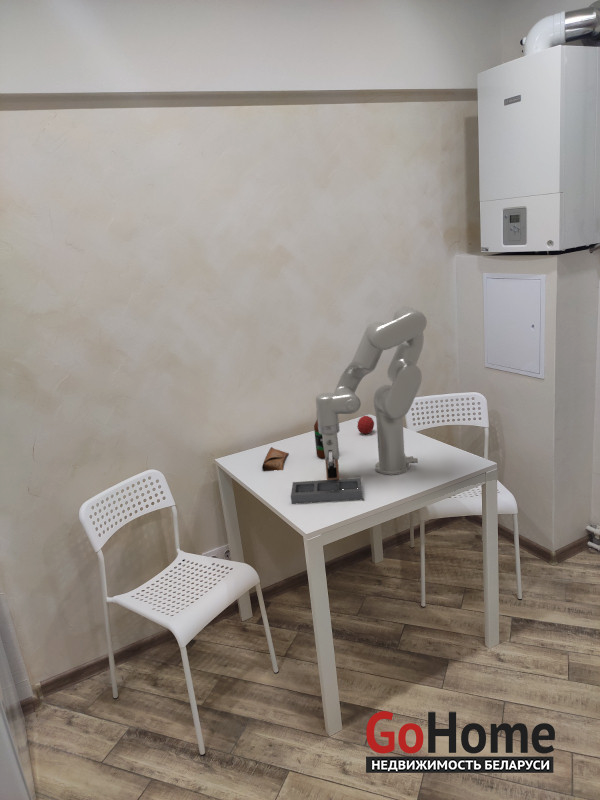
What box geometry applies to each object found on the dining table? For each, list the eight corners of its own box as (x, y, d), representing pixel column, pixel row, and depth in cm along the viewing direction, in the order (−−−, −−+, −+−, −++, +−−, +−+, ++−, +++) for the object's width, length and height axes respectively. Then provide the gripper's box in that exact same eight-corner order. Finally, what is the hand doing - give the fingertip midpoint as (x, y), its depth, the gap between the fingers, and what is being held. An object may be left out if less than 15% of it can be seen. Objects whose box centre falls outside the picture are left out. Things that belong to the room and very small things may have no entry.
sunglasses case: (284, 470, 235) (273, 456, 234) (269, 479, 237) (259, 466, 235) (289, 452, 252) (279, 440, 251) (276, 461, 254) (266, 449, 252)
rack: (361, 485, 215) (360, 477, 214) (362, 499, 205) (362, 491, 204) (293, 489, 217) (292, 482, 216) (291, 503, 207) (290, 495, 206)
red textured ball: (374, 414, 261) (358, 410, 265) (366, 429, 258) (350, 424, 262) (378, 424, 268) (362, 419, 271) (370, 439, 265) (355, 434, 268)
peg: (339, 474, 226) (337, 454, 224) (339, 479, 222) (337, 459, 220) (327, 475, 226) (325, 455, 224) (327, 480, 222) (325, 460, 220)
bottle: (314, 458, 243) (309, 398, 236) (319, 451, 250) (313, 393, 243) (332, 459, 241) (327, 398, 234) (336, 452, 248) (331, 393, 241)
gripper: (339, 435, 210) (343, 482, 215) (339, 419, 227) (342, 463, 232) (317, 436, 211) (322, 484, 216) (318, 420, 227) (322, 464, 232)
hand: (332, 473), depth 224 cm, fingers open, 6 cm apart
